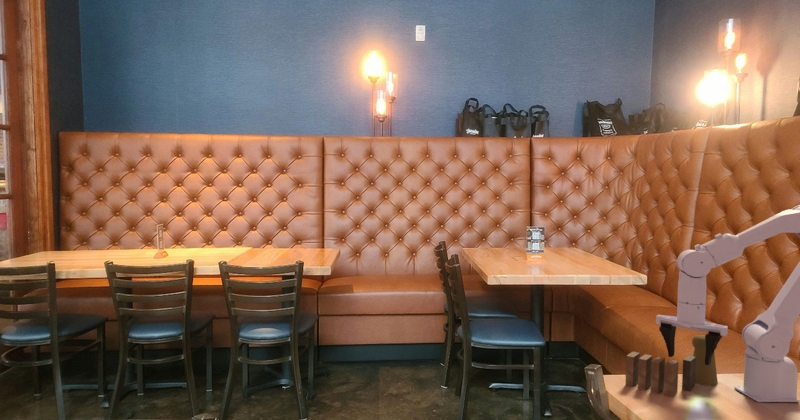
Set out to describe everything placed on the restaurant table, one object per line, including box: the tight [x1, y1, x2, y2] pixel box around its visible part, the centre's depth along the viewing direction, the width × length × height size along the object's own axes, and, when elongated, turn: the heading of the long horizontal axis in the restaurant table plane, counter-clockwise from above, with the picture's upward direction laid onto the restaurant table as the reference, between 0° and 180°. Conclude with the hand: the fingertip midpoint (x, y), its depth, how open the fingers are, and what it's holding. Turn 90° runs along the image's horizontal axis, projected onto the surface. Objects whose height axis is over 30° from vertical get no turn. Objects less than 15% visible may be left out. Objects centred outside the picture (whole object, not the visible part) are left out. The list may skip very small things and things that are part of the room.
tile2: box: [663, 359, 679, 398], centre depth 117 cm, size 2×4×7 cm, turn 136°
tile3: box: [650, 356, 666, 394], centre depth 119 cm, size 2×4×7 cm, turn 136°
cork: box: [691, 334, 719, 386], centre depth 125 cm, size 6×6×11 cm
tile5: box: [625, 351, 641, 387], centre depth 123 cm, size 2×4×7 cm, turn 136°
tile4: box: [637, 353, 653, 391], centre depth 121 cm, size 2×4×7 cm, turn 136°
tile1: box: [681, 354, 696, 392], centre depth 121 cm, size 2×4×7 cm, turn 136°
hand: (689, 359), depth 120 cm, fingers open, 7 cm apart
